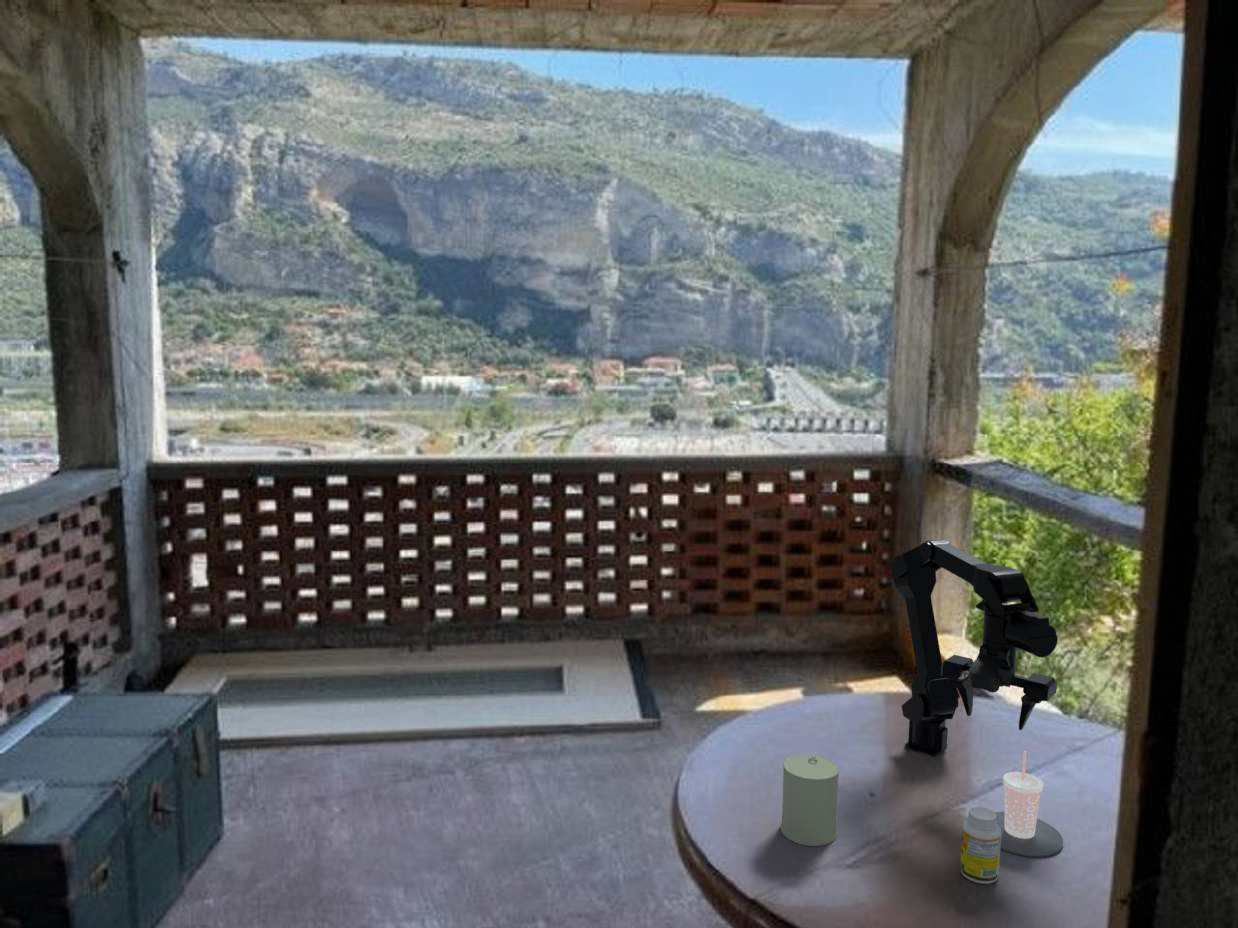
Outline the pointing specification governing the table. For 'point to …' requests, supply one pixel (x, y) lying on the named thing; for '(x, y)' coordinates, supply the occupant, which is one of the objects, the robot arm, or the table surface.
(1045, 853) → the coaster
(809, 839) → the can
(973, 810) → the supplement bottle
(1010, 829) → the beverage cup
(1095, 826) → the table surface
